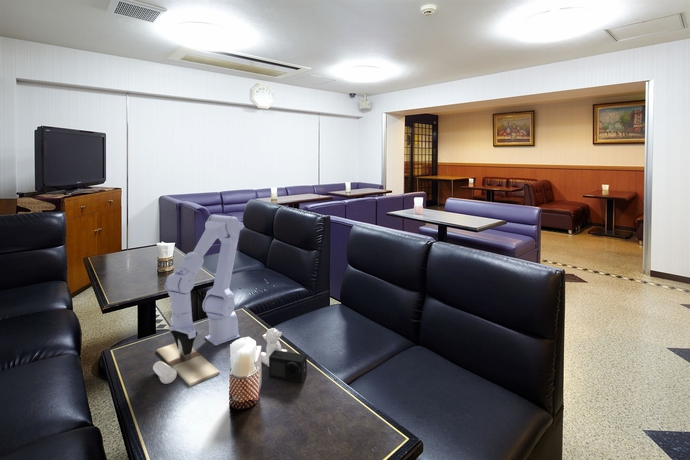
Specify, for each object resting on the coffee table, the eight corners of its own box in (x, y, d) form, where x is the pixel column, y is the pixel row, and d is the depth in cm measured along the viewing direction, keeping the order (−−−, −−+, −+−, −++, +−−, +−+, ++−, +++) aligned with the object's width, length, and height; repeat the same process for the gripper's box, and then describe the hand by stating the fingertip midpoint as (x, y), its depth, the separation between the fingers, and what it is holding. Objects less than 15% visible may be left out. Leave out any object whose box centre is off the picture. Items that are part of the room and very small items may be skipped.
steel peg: (188, 354, 122) (186, 334, 121) (192, 358, 120) (190, 338, 118) (178, 357, 120) (176, 337, 118) (181, 362, 118) (180, 341, 116)
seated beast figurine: (286, 353, 126) (286, 319, 123) (291, 367, 118) (290, 331, 115) (257, 357, 123) (256, 323, 120) (260, 372, 115) (259, 335, 112)
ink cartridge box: (258, 400, 102) (257, 351, 99) (239, 401, 101) (237, 351, 98) (262, 381, 110) (261, 335, 107) (245, 382, 110) (243, 335, 106)
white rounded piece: (171, 360, 116) (184, 371, 109) (158, 376, 114) (171, 388, 107) (160, 353, 114) (172, 364, 107) (147, 369, 112) (159, 381, 105)
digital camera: (267, 380, 111) (266, 358, 109) (274, 370, 116) (274, 349, 114) (300, 386, 108) (300, 364, 107) (306, 375, 113) (306, 354, 112)
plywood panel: (184, 342, 131) (183, 339, 131) (219, 373, 113) (219, 370, 113) (156, 351, 125) (156, 348, 125) (189, 386, 107) (189, 383, 107)
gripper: (159, 307, 119) (162, 346, 122) (177, 322, 109) (181, 365, 112) (181, 301, 124) (184, 339, 126) (201, 315, 114) (204, 356, 116)
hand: (184, 351), depth 119 cm, fingers open, 4 cm apart
